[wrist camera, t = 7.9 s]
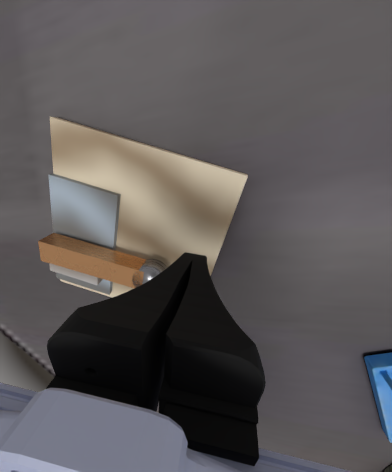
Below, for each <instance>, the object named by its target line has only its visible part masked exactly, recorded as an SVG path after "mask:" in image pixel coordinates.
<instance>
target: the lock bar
mask: <svg viewBox="0 0 392 472" xmlns="http://www.w3.org/2000/svg"><path fill="white" fill-rule="evenodd" d="M38 243H39V250H40V257H41V261H44V262H47V263H51V264H54V265H57V266H61V267H64V268H67V269H71V270H74V271H78V272H81V273H84V274H88V275H91V276H94V277H98V278H101V279H105V280H108V281H111V282H115V283H118V284H121V285H125V286H128V287H131V288H136V287H138V286H140V285H142V284H144V283H146V282H148V281H149V280H151V279H152V278H154V277H155V276H157V275H158V274H160V273H161V272H162V271H164V270H165V269H166V268H167V267H166V265H165V264H164V263H163V262H161V261H160V260H157V259H147V260H146V259H143V258H139V257H136V256H132V255H129V254H125V253H122V252H119V251H115V250H112V249H108V248H105V247H101V246H98V245H94V244H91V243H88V242H84V241H81V240H77V239H74V238H70V237H67V236H63V235H60V234H57V233H53V234H51V235H49V236H47V237H45V238H43V239H41V240H39V241H38Z"/></svg>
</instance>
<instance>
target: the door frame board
mask: <svg viewBox="0 0 392 472" xmlns="http://www.w3.org/2000/svg"><path fill="white" fill-rule="evenodd" d="M50 127H51V143H52V158H53V173H54V174H49V186H50V199H51V212H52V225H53V233H57V234H60V235H63V236H67V237H70V238H74V239H77V240H81V241H84V242H88V243H91V244H94V245H98V246H101V247H105V248H108V249H112V250H115V251H119V252H122V253H125V254H129V255H132V256H136V257H139V258H143V259H146V260H147V259H157V260H160V261H161V262H163V263H164V264H165V265H166V267H169V266H170V265H171V264H172V263H173V262H175V261H176V260H177V259H178V258H179V257H180V256H181V255H182V254H183V253H185V252H187V253H193V254H199V255H205V256H206V257H207V265H208V270H209V273H210V276H211V273H212V271H213V268H214V265H215V263H216V260H217V257H218V255H219V252H220V249H221V247H222V244H223V241H224V239H225V236H226V233H227V231H228V228H229V225H230V223H231V220H232V217H233V215H234V212H235V209H236V207H237V204H238V201H239V198H240V196H241V193H242V190H243V188H244V185H245V182H246V180H247V177H248V175H247V174H244V173H241V172H238V171H234V170H231V169H228V168H224V167H221V166H218V165H214V164H211V163H208V162H204V161H201V160H198V159H194V158H191V157H188V156H184V155H181V154H178V153H174V152H171V151H168V150H164V149H161V148H158V147H154V146H151V145H148V144H144V143H141V142H138V141H134V140H131V139H128V138H124V137H121V136H118V135H114V134H111V133H108V132H104V131H101V130H98V129H94V128H91V127H88V126H84V125H81V124H78V123H74V122H71V121H68V120H64V119H61V118H57V117H50ZM49 264H50V270H51V271H54V272H56V277H57V278H59V279H60V280H61V281H62V282H66V283H69V284H72V285H75V286H78V287H81V288H84V289H87V290H90V291H94V292H97V293H100V294H103V295H106V296H109V297H112V298H113V297H116V296H118V295H121V294H123V293H125V292H128V291H130V290H132V289H134V288H131V287H128V286H125V285H121V284H118V283H115V282H111V281H108V280H105V279H101V278H98V277H94V276H91V275H88V274H84V273H81V272H78V271H74V270H71V269H67V268H64V267H61V266H57V265H54V264H51V263H49Z"/></svg>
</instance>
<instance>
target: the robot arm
mask: <svg viewBox="0 0 392 472" xmlns="http://www.w3.org/2000/svg"><path fill="white" fill-rule="evenodd" d="M47 350H48V355H49V358H50V360H51V363H52V366H53V369H54V372H55V374H56V376H55V377H54V379H53V380H52V381H51V383H50V384H49V385H48V387H47V388H46V389H45V390H43V391H41V392H36V391H32V390H28V389H24V388H19V387H16V386H12V385H8V384H4V383H0V472H352V471H349V470H345V469H341V468H337V467H333V466H329V465H325V464H321V463H317V462H313V461H309V460H305V459H301V458H297V457H293V456H289V455H285V454H281V453H277V452H273V451H269V450H265V449H261V448H258V438H257V427H256V424H257V423H258V411H257V405H258V403H259V401H260V398H261V396H262V394H263V391H264V388H265V376H264V371H263V367H262V363H261V360H260V356H259V353H258V350H257V347H256V345H255V343H254V342H253V341H252V340H251V339H250V338H249V337H248V336H247V335H246V334H245V333H244V332H243V331H242V330H241V328H240V327H239V326H238V325H237V324H236V322H235V321H234V320H233V318H232V317H231V315H230V314H229V312H228V311H227V310H226V308H225V306H224V305H223V303H222V301H221V300H220V298H219V296H218V294H217V292H216V290H215V287H214V285H213V282H212V280H211V276H210V273H209V270H208V265H207V257H206V256H205V255H199V254H193V253H187V252H185V253H183V254H182V255H181V256H180V257H179V258H178V259H177V260H176V261H175V262H173V263H172V264H171V265H170V266H169V267H167V268H166V269H165V270H164V271H162V272H161V273H160V274H158V275H157V276H155V277H154V278H152V279H151V280H149V281H148V282H146V283H144V284H142V285H140V286H138V287H136V288H134V289H132V290H130V291H128V292H125V293H123V294H121V295H118V296H116V297H113V298H110V299H107V300H104V301H101V302H98V303H94V304H91V305H87V306H84V307H80V308H78V309H77V310H76V311H75V312H74V313H73V314H72V315H71V316H70V317H69V318H68V319H67V320H66V321H65V322H64V323H63V324H62V326H61V327H60V328H59V329H58V330H57V331H56V332H55V333H54V334H53V336H52V337H51V338H50V339H49V340H48V344H47ZM158 402H159V413H157V412H156V411H157V407H158Z"/></svg>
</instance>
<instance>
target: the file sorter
mask: <svg viewBox="0 0 392 472" xmlns="http://www.w3.org/2000/svg"><path fill="white" fill-rule="evenodd" d="M364 359H365V363H366V366H367V370H368V374H369V378H370V382H371V385H372V389H373V393H374V397H375V401H376V405H377V409H378V413H379V417H380V421H381V425H382V429H383V431H384V433H385V434H386V436H387V438H388V440H389V441H390V442H391V443H392V352H390V353H383V354H376V355H369V356H365V357H364Z"/></svg>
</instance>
